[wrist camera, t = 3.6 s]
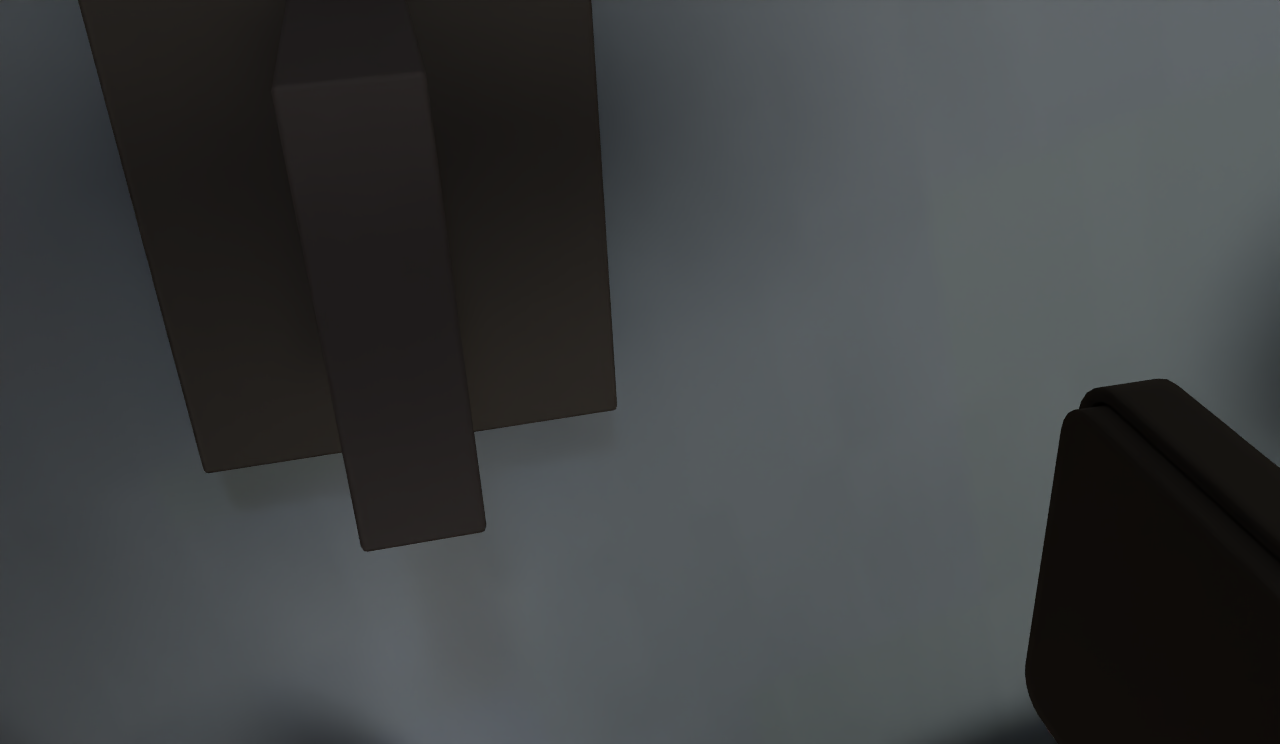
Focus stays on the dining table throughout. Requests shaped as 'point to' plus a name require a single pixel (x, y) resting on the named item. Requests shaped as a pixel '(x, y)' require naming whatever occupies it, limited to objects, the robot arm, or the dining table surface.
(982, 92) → the dining table surface
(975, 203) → the dining table surface
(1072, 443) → the robot arm
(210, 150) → the tongue pad
